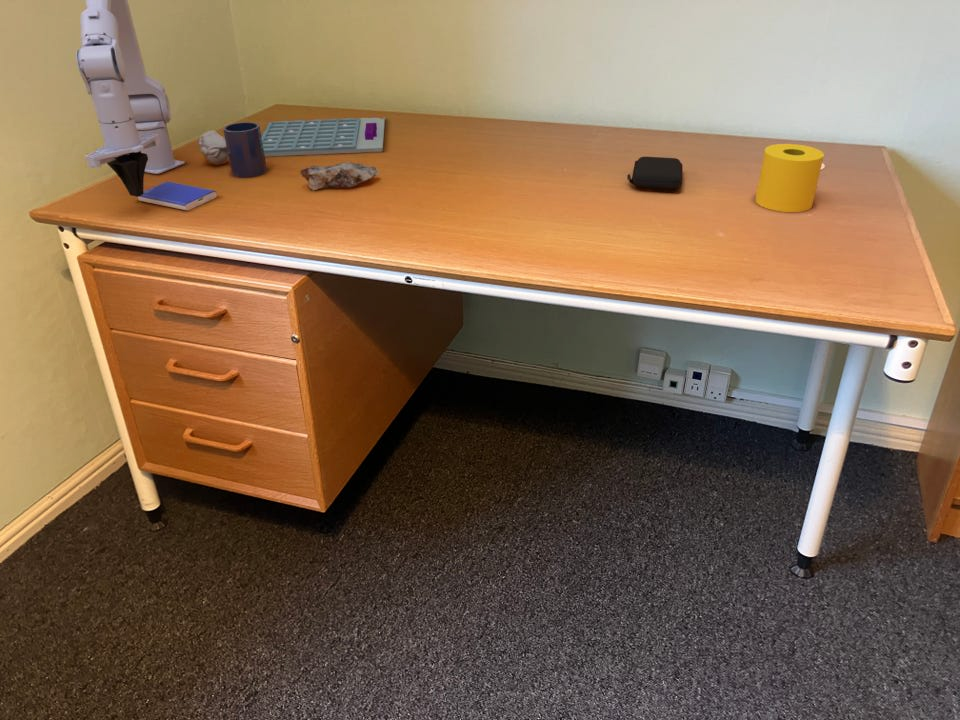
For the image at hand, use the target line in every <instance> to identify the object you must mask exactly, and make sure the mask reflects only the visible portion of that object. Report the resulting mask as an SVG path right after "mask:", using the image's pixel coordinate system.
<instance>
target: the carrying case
mask: <svg viewBox="0 0 960 720" xmlns="http://www.w3.org/2000/svg"><path fill="white" fill-rule="evenodd" d="M683 167H684V166H683V163H682V162H681V160H680V159H678V158H676V157H663V156H641V157H639V158H638V159H637V160H635V161H634V165H633V170H632V174H631V175H632V176H631V175H630V173H628V174H627V175H626V178H627V181H628V182H629V184H631V185H633V186H634V187H635V189H636V190H640V191H651V192H666V193H676V192H677V191H679V189H681V188H682V186H683V172H684V171H683Z"/></svg>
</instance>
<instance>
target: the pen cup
mask: <svg viewBox="0 0 960 720" xmlns="http://www.w3.org/2000/svg"><path fill="white" fill-rule="evenodd" d="M222 130H223V135H224V136H223V137H224V138H225V141H226V146H227V151H228V156H229V157H228V161H229V166H230V171H231V174H232V176H233V177H236V178H241V179H242V178H243V179H246V178H256V177H259V176H263V175H264V174H266V173H267V172H268V167H267V163H266V162H267V161H266V157H265V155H264V149H263V143H262V132H261V126H260V124H259V123H257V122H252V121H242V122H241V121H240V122H235V123H230V124H227V125H225V126H224V127H222Z"/></svg>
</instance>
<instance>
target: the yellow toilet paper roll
mask: <svg viewBox="0 0 960 720" xmlns="http://www.w3.org/2000/svg"><path fill="white" fill-rule="evenodd" d="M824 154H825V153H824V152H823V151H821V150H820V149H818V148H815V147H812V146H810V145H804V144H798V143H797V144H796V143H777V144H771V145H768V146H766V147H765V148H764V152H763V157H762V162H761V168H760V172H759V178H758V184H757V189H756V192H755V193H756V194H755V203H757V205H758V206H761V207H762V208H764V209H768V210H771V211H776V212H781V213H782V212H784V213H800V212H801V213H802V212H805V211H808V210H810V209H811V208H812V207H813V203H814V198H815V194H816V190H817V186H818V182H819V178H820V174H821V169H822V165H823V160H824V156H825V155H824Z"/></svg>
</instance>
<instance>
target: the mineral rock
mask: <svg viewBox="0 0 960 720" xmlns="http://www.w3.org/2000/svg"><path fill="white" fill-rule="evenodd" d="M300 175H301V176H302V178H304V179H305V180H306V181H307V182H308V187H309V189H311V190H312V192H314V191H317V190H319V189H320V190H321V189H326V188H336V189H339V188H340V189H341V188H345V189H346V188H347V189H349V188H352V187H356V186H357V185H359V184H360V183H363V182H366V181H368V180H371V179H372V178H375V177H377V176H379V175H380V171H379V170H378V169H377V168H376V167H375V166H372V165H371V166H368V165H365V164H363V163H355V162H352V161H351V162H348V161H344V162H341V163H337V164H334V165H325V166H319V165H311V166H310V167H309V166H308V167H305V168H302V169H300Z"/></svg>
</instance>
